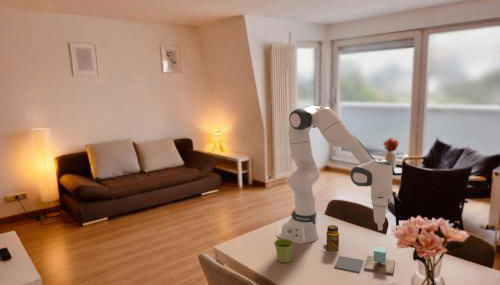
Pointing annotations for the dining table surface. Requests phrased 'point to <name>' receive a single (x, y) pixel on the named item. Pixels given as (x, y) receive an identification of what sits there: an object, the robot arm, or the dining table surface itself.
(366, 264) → the post
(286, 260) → the plant pot
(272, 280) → the dining table surface
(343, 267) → the mat
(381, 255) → the teal cube
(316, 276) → the dining table surface
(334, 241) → the condiment
